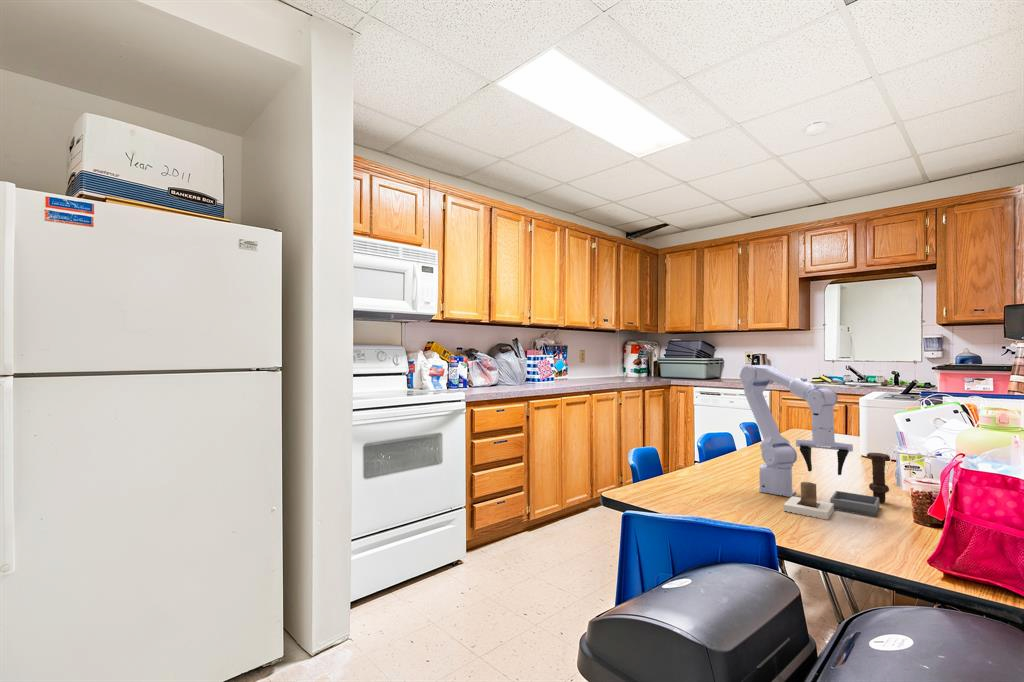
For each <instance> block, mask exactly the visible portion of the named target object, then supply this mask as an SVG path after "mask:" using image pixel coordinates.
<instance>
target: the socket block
mask: <svg viewBox="0 0 1024 682" xmlns="http://www.w3.org/2000/svg"><path fill="white" fill-rule="evenodd" d="M784 511H787V512H786V513H790V512H792V513H791V514H795V513H797V514H796V515H800V514H802V515H801V516H805V515H806V516H807V517H810V516H812V518H816V517H817V519H820V520H821V519H822V520H827V521H828V520H829V518H830V517H831V515H832V513H833V512H834V511H835V509H834V503H830V502H827V501H821V500H817V508H814V507H809V506H803V505H801V497H799V496H793V495H792V496H791V497H789V498H788V500H787V501H785V503H784V504H783V512H784ZM806 516H805V517H806Z"/></svg>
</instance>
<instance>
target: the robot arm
mask: <svg viewBox="0 0 1024 682" xmlns="http://www.w3.org/2000/svg"><path fill="white" fill-rule="evenodd" d="M739 378H740V380H741V383H742V385H743V392H744V395H745V397H746V400H747V403H748V405H749V407H750V410H751V412H752V415H753V417H754V419H755V422H756V424H757V426H758V428H759V432H760V434H761V436H762V438H763V441H762V442H761V444H760V445H759V447H760V450H761V458H762V461H763V462H764V463H761V464H760V467H759V491H758V492H761V493H764V494H771V495H777V496H782V495H783V497H788V498H791V497H792V496H793V495H794V494H795V493H796V492H797V491H796V490H795V489H793V467H794V464H795V462H797V459H798V453H797V450H796V449H795V448H794V447H793V445H792V444H791V443H790V440H788V439H787V438H786V437H784V436H783V435H781V434H782V433H780V430H779V428H778V426H777V423H776V421H775V418H774V416H773V414H772V412H771V410H770V407H769V405H768V402H767V400H766V398H765V396H764V391H765V390H766V389H767V388H768V386H770V384H771V382H774V383H777V384H779V385H781V386H784V387H786V388H788V390H789V393H791V394H792V395H795V396H797V397H798V398H800V399H802V400H803V401H805V402H806V403H807V404H808V406H809V411H810V412H811V432H812V433H811V437H812V439H809V440H808V439H795V447H797V448H799V452H800V453H801V455H802V457H803V458H804V462H805V464H806V467H807V471H808V472H812V471H813V465H812V448H813V449H823V450H824V449H825V450H834V451H835V450H836V455H837V456H836V457H837V475H838V476H842V472H843V466H844V463H845V461H846V459H847V456H848V454H849V453H851V452H854V445H853V443H852V444H851V443H843V442H836V441H835V418H834V416H835V415H834V411H835V410H834V406H835V405H836V404H838V399H839V398H838V394H837V393H836V391H835V390H833V389H832V388H831V387H823V388H822V387H821V385H820V384H818V383H813V382H810V381H808V378H806V377H796V378H793V377H792V376H789V375H788V374H786V373H784V372H782V371H781V370H779V369H777V368H776V366H772V365H770V364H755V365H754V364H746V365H744V366H743V367H742V369H741V371H740V373H739Z"/></svg>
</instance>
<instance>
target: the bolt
mask: <svg viewBox="0 0 1024 682" xmlns="http://www.w3.org/2000/svg"><path fill="white" fill-rule="evenodd" d="M866 458H867V459H869V460H871V466H872V467H871V468H872V471H871V473H872V482H871V483H869V484H868V488H869V489H870V491H872V496H873V497H879V504H884V502H885V503H886V500H887V499H886V493H888V492H889V491H890V487H889V486H888V485H887V484H886V467H885V466H886V462H887V461H888V462H889V461H890V460H891V456H890V455H889V454H888V453H887V454H886V453H882V452H868V453H866Z"/></svg>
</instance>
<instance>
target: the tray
mask: <svg viewBox="0 0 1024 682" xmlns="http://www.w3.org/2000/svg"><path fill="white" fill-rule="evenodd" d="M829 501H830V502H829V503H834V510H835V509H837V510H836V511H841V510H843V511H842V512H847V511H848V512H847V513H852V514H859V515H863V516H869V517H874V516H876V517H877V516H878V513H879V510H880V503H879V497H873V495H872V496H871V495H866V494H860V493H853V492H852V493H851V492H846V491H839V490H835V491H834V492H833V494H832V496H831V497H830V499H829ZM877 512H878V513H877Z"/></svg>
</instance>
